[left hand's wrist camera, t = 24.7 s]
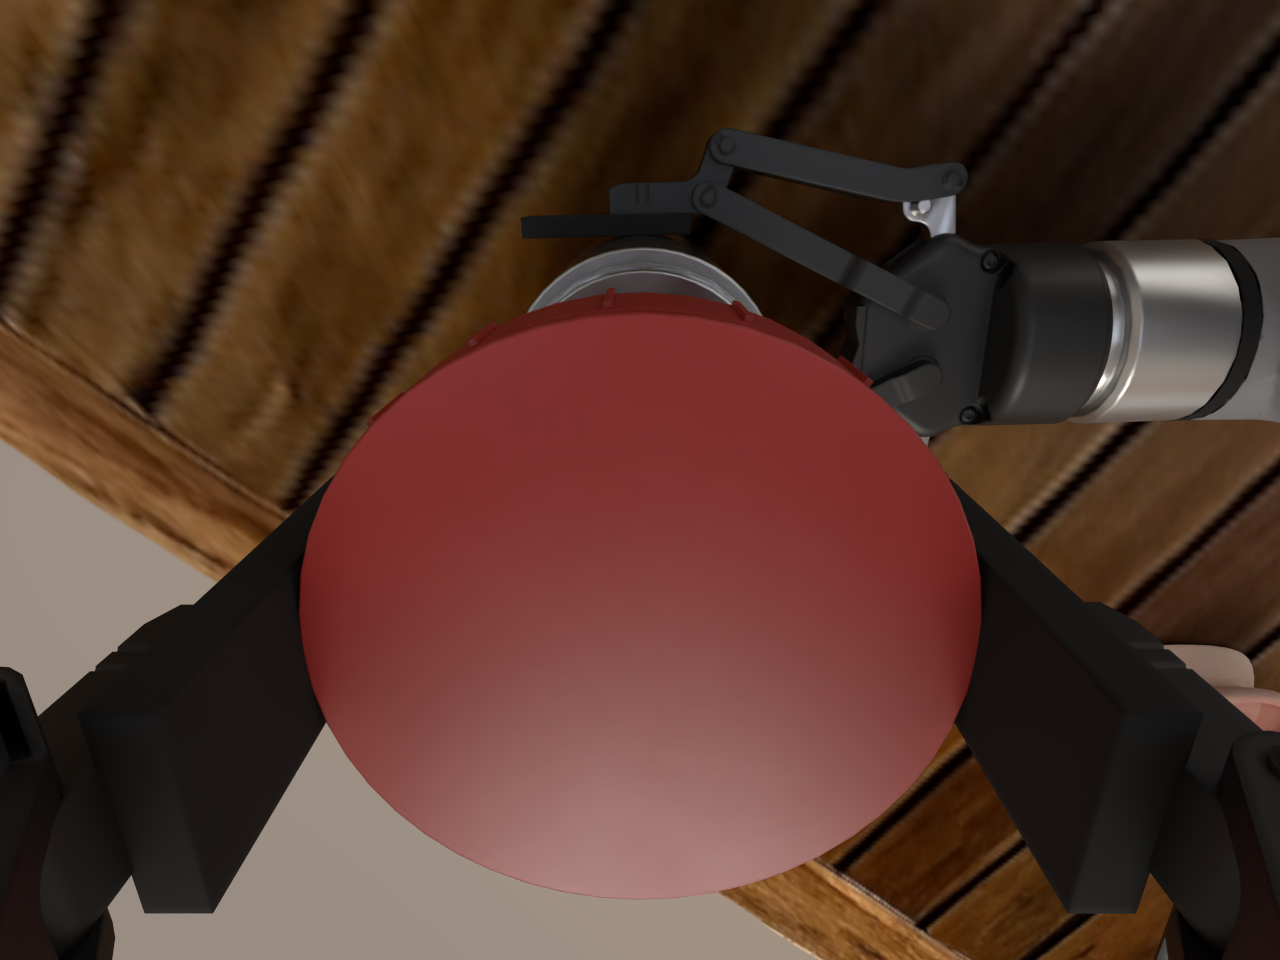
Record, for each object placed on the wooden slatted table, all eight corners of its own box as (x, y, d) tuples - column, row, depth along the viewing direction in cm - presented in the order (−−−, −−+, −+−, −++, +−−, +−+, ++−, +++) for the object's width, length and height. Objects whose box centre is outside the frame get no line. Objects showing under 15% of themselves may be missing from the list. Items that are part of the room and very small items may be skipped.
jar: (569, 417, 39) (526, 551, 24) (538, 240, 36) (468, 273, 21) (738, 396, 38) (798, 519, 24) (723, 214, 35) (781, 230, 21)
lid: (382, 808, 14) (343, 901, 12) (300, 284, 10) (227, 303, 9) (890, 811, 14) (927, 905, 12) (978, 289, 10) (1050, 309, 9)
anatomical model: (1032, 829, 44) (1101, 668, 40) (1001, 779, 47) (1062, 627, 43) (1245, 850, 44) (1335, 694, 40) (1198, 800, 48) (1276, 652, 44)
